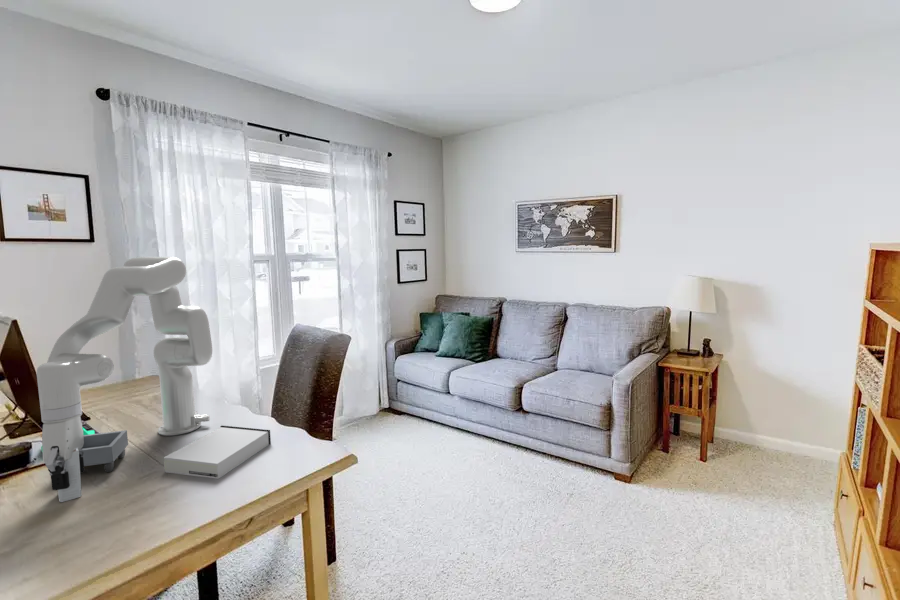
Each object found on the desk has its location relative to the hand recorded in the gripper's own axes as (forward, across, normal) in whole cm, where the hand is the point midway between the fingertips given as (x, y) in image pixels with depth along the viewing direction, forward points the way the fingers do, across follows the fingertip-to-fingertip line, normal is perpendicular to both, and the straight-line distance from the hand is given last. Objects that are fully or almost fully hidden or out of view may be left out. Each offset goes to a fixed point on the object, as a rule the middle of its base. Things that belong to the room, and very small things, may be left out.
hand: (69, 480), depth 111 cm
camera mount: (+4, -36, -14) cm, 39 cm away
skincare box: (+4, 0, 0) cm, 4 cm away
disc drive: (+5, -10, +32) cm, 34 cm away
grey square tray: (+4, -16, 0) cm, 16 cm away
